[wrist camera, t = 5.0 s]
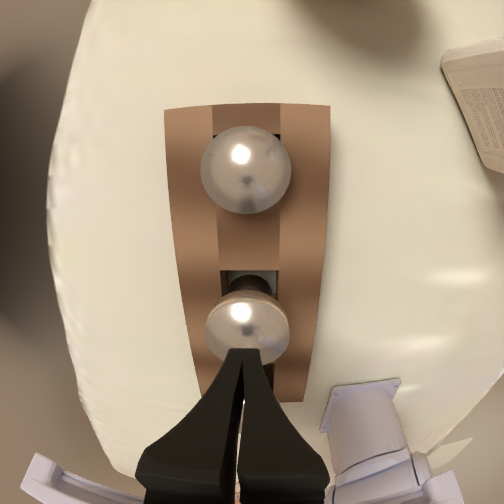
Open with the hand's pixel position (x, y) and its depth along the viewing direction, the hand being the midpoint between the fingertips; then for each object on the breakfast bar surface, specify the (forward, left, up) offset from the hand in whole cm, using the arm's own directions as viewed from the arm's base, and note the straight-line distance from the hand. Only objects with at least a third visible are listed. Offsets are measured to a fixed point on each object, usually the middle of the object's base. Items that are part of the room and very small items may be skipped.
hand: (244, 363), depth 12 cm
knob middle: (0, 0, -6) cm, 6 cm away
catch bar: (0, 0, -9) cm, 9 cm away
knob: (+8, 0, -9) cm, 12 cm away
